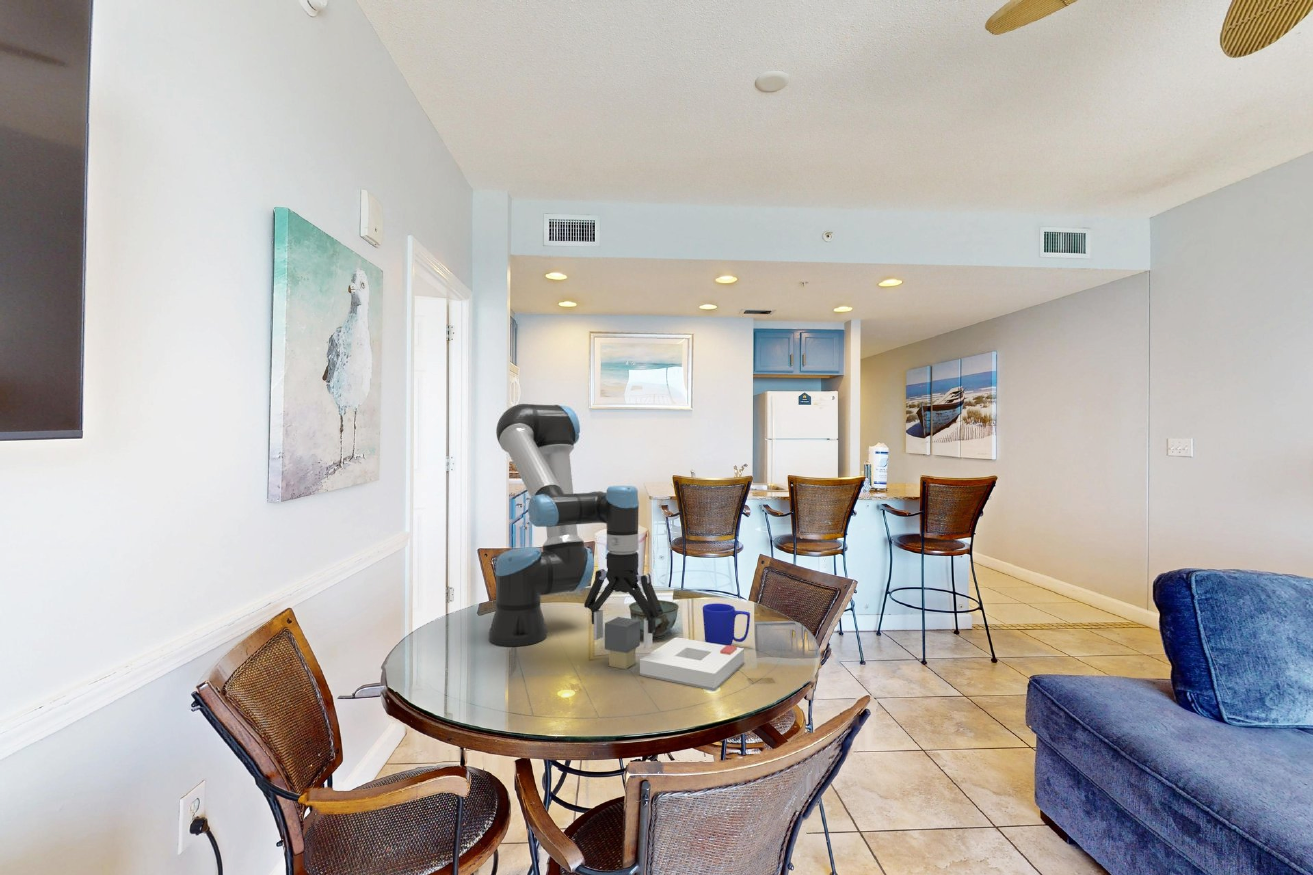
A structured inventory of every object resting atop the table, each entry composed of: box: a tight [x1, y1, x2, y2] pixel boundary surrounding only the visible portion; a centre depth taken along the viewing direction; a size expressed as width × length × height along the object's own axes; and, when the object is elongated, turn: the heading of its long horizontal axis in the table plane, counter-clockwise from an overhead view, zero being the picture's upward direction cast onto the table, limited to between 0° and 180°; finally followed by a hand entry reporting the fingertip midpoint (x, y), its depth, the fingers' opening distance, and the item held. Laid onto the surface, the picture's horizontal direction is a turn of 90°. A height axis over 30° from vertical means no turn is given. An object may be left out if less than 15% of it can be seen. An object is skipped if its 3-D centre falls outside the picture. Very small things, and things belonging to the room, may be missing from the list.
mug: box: [702, 602, 751, 646], centre depth 154 cm, size 8×12×10 cm
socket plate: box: [639, 637, 745, 691], centre depth 138 cm, size 18×18×4 cm
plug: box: [604, 616, 641, 670], centre depth 141 cm, size 6×6×10 cm
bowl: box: [628, 599, 680, 640], centre depth 164 cm, size 14×13×8 cm
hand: (622, 642), depth 141 cm, fingers open, 13 cm apart
